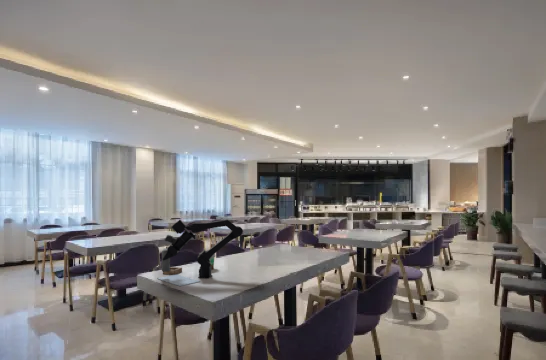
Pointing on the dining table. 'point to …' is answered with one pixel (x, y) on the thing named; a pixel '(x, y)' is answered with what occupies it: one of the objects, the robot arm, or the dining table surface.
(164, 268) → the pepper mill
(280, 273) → the dining table surface
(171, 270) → the walnut holder
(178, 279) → the placemat
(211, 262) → the food container
